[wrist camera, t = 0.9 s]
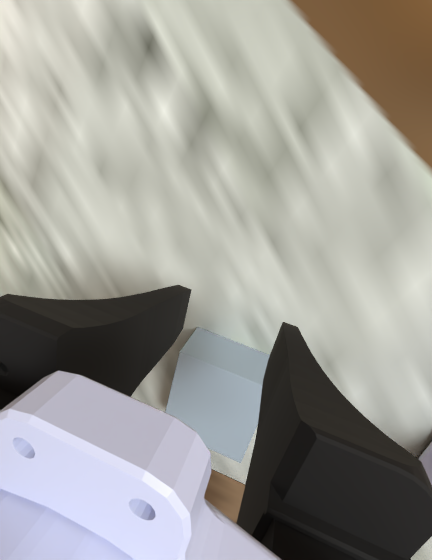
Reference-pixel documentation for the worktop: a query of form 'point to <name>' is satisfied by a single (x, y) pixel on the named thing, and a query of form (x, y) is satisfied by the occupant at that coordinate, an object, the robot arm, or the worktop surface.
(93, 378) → the robot arm
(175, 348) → the worktop surface
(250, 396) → the slate block
